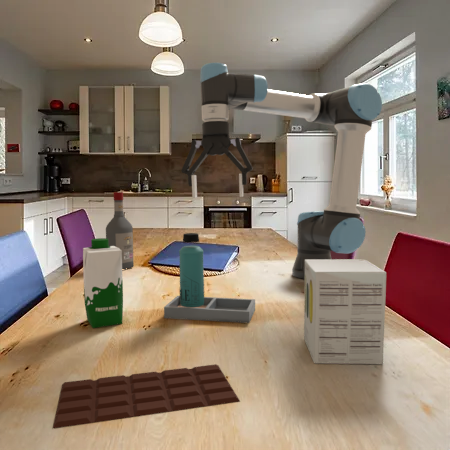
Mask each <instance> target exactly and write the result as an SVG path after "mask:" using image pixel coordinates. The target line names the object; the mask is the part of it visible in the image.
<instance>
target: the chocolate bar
mask: <svg viewBox="0 0 450 450" xmlns="http://www.w3.org/2000/svg"><path fill="white" fill-rule="evenodd" d="M238 402H239V403H240V402H241V401H240V399H239V397H238V395H237V394H236V392H235V391H234V389H233V387H232V386H231V384H230V382H229V381H228V379H227V377H226V375H225V374H224V372H223V371H222V369H221V368H220V366H219V365H218V364H216V363H215V364H208V365H207V364H206V365H200V366H194V367H192V368H187V367H183V368H181V367H180V368H175V369H174V368H173V369H165V370H163V371H160V372H157V371H149V372H141V373H132V374H131V375H129V376H127V375H124V374H123V375H115V376H113V375H112V376H107V377H106V376H104V377H99V378H97V379H95V380H94V379H91V378H89V379H82V380H81V379H79V380H73V381H72V380H71V381H66V382H63V383H62V385H61V388H60V394H59V399H58V403H57V407H56V412H55V416H54V421H53V427H52V429H53V428H54V429H59V428H66V427H72V426H73V427H74V426H80V425H86V424H87V425H88V424H93V423H101V422H107V421H113V420H114V421H115V420H121V419H122V420H123V419H129V418H135V417H142V416H148V415H156V414H163V413H169V412H177V411H182V410H191V409H197V408H204V407H205V408H206V407H211V406H212V407H213V406H218V405H225V404H232V403H233V404H234V403H238Z"/></svg>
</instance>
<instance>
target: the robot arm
mask: <svg viewBox="0 0 450 450" xmlns="http://www.w3.org/2000/svg"><path fill="white" fill-rule="evenodd" d="M199 79H200V80H199V83H200V95H201V96H200V97H201V121H202V125H201V126H202V139H201V140H196V139H193V140H191V145H190V146H191V147H190V150H189V152H188V154H187V156H186V159H185V161H184V163H183V166H182V168H181V171H180V172H181V173H183V174H186V175H187V178H188V179H187V182H188V187H191V193H192V195H191V196H192V197H191V198H192V199H198V188H197V186H198V183H197V175H196V174H195V173H196V171H197V170H199V168H200V166H201V165H202V164H203V163H204V161H205V159H206V158H208V156H209V155H210V156H216V155H218V156H223V155H225V156H227V157H228V159H230V161H231V162H232V163H233V164H234V165H235V167H236V168H237V169H238V170H239V171H240V172H241V173H239V174H238V183H239V185H238V187H239V198H243V197H244V186H245V185H247V183H248V177H247V175H248V173H249V172H251V171H253V169H254V167H253V165H252V163H251V162H250V160H249V158H248V156H247V154H246V152H245V150H244V149H243V146H242V141H241V138H240V137H236V138H232V139H231V137H230V123H229V122H228V121H229V118H230V117H229V115H230V114H229V112H230V111H229V110H237V111H246V112H254V113H262V114H267V115H268V114H270V115H277V116H286V117H293V118H299V119H305V121H306V122H309V123H317V124H319V125H320V124H322V125H328V126H334V129H335V130H336V131H337V141H336V148H335V157H334V164H333V171H332V173H333V174H332V179H331V187H330V197H329V204H328V205H327V206H326V207H325V208H324V209H323V210H318V211H306V212H300V213H299V214H298V216H297V223H296V225H297V247H296V248H297V253H296V257H295V259H294V263H293V266H292V276H293V277H295V278H298V279H304V280H305V259H332V256H331V252H334V253H336V254H353V253H354V252H355V251H357V250H358V249H359V248H361V246H362V245H363V243H364V241H365V238H366V232H367V231H366V226H365V225H364V223H363V221H361V220H360V219H361V218H360V217H361V212H360V210H359V209H358V208H357V205H358V204H357V203H358V196H359V186H360V181H361V171H362V165H363V158H364V157H363V155H364V151H365V150H364V149H365V140H366V135H367V133H369V132H370V131H372V127H373V125H372V124H373V121H374V120H375V119H377V117H379V116H380V114H381V112H382V108H383V101H382V96H381V94H380V92H378V89H377V88H376V87H375V86H373V85H371V84H370V83H366V82H364V83H363V82H362V83H356V84H352V85H351V86H348V87H345V88H340V89H337V90H334V91H331V92H326V93H315V92H313V93H310V94H309V95H306V94H301V93H300V94H299V93H295V92H289V91H288V92H287V91H282V90H275V89H269V86H268V80H267V79H266V77H265V76H264V75H259V74H254V73H253V74H247V73H236V72H235V73H232V72H229V70H228V66H227V64H225V63H222V62H209V63H205V64H203V65H202V66H201V68H200V76H199ZM231 145H233V146H234V147H236V150H237V152H238V153H239V155H240V158H241V159H242V161H243V162H244V165H245V166H246V167H244V165H243V164H242V163H241V162H240V161H239V160H238V159H237V157H235V155H234V154H233V153H232V152H231V150H229V147H230V146H231ZM200 146H202V148H203V150H202V152H201V153H200V155H199V157H198V158H197V159H196V161H195V162H194V163H193V165H192V162H193V159H194V158H195V155H196V152H197V150H198V149H199V148H200ZM191 165H192V166H191ZM190 166H191V167H190Z"/></svg>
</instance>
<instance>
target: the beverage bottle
mask: <svg viewBox="0 0 450 450" xmlns="http://www.w3.org/2000/svg"><path fill="white" fill-rule="evenodd" d="M182 235H183V236H182V242H183V243H191V244H192V243H199V242H200V236H199V233H196V232H195V233H194V232H187V233H183V234H182ZM178 253H179V266H178V268H179V296H180V303H181V305H182V306H184V307H200V306H202V305H203V304H204V302H205V301H204V297H205V275H204V250H203V248H202V247H200V246H199V245H184V246H182V247H181V248H180V249H179V251H178Z"/></svg>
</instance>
